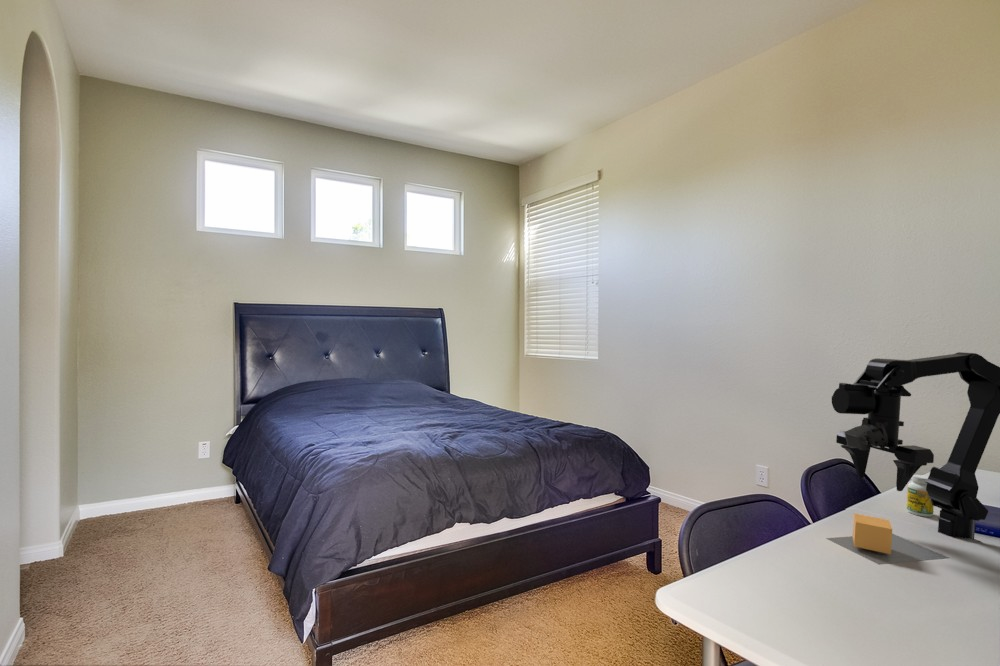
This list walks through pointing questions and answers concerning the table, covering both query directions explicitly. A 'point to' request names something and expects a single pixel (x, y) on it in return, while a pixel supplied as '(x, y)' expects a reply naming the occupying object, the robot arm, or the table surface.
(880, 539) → the cardboard cube
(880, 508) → the table surface
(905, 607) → the table surface
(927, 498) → the supplement bottle
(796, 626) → the table surface
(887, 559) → the plate
